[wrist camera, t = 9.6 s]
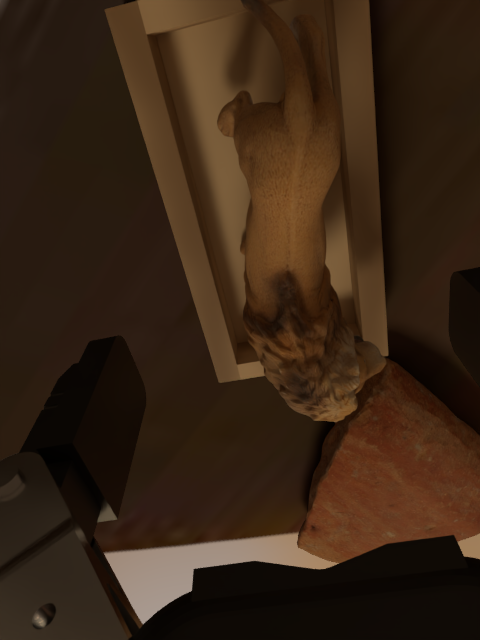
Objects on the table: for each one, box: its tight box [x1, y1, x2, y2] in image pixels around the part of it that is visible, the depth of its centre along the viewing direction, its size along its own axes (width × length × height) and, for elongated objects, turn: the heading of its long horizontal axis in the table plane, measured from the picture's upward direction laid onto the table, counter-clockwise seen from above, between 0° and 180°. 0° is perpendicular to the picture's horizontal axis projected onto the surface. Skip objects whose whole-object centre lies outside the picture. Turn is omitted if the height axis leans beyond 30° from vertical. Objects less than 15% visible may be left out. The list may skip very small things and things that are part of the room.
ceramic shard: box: [297, 358, 480, 563], centre depth 30 cm, size 15×6×15 cm
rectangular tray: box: [105, 0, 388, 383], centre depth 20 cm, size 9×17×3 cm, turn 12°
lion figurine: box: [217, 0, 386, 422], centre depth 16 cm, size 15×5×9 cm, turn 15°
